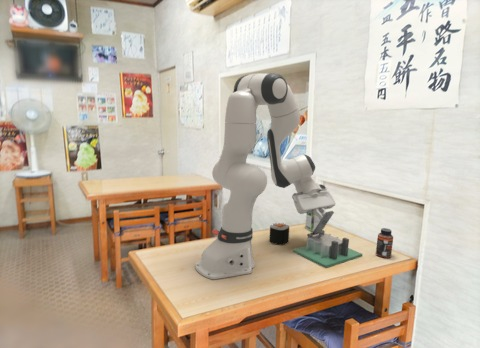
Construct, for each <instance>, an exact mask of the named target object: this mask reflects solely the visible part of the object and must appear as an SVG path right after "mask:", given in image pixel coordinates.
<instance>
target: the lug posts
mask: <svg viewBox="0 0 480 348" xmlns="http://www.w3.org/2000/svg"><path fill="white" fill-rule="evenodd" d="M341 240H342V250H341V255H343V256H348V248H349V245H350V244H349V242H350V239H349V238H347V237H343V238H342V239H341ZM337 251H338V242H337V241H332V243H331V255H330V258H332V259H334V260H335V259H337Z"/></svg>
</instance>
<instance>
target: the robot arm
mask: <svg viewBox="0 0 480 348" xmlns="http://www.w3.org/2000/svg"><path fill="white" fill-rule="evenodd" d="M226 104H227V105H226V107H225V118H224V136H223V137H224V139H223V147H222V151H221V154H220V157H219V159H218V161H217V162H216V164H214V166H213V167H212V172H211V174H212V178H213V180H214V182H215V183H216V184H218V185H219V186H220V187H222V188H224V189H226V190H229V191H230V194H229V199H228V201H227V203H225V204H224V205H223V207H222V209H221V210H222V214H221V227H220V229H217V228H213V230H212V235H215V236H217V238H215V240H213V241H212V242H211V243H210V244H209V245H208V246H206V247H205V248H204V249H203V250H202V253H201V259H200V260H199V261H196V262H195V263H194V267H195V268H194V269H195V270H196V271H197V272H198V273H199V274H200V275H201V276H203V277H205V278H207V279H210V280H218V279H224V278H231V277H236V276H242V275H243V276H244V275H248V274H252V272H253V270H252V269H253V268H254V267H255V261H254V257H253V249H252V240H253V232H254V231H253V227H252V224H253V210H254V206H255V203H256V200H257V198H258V197H259V196H260V195H261V194H263V193H264V191H265V190H266V187H267V185H268V176H267V174H266V172H265V171H264V170H263V169H261V168H259V167H258V166H256V165H254V164H250V163H247V158H248V156H249V154H250V151H252V150H253V149H254V148H255V146H256V136H257V110H258V108H259V106H267V109H268V112H269V116H270V127H269V129H268V130H267V135H266V137H267V147H268V154H269V162H270V174H271V175H270V176H271V180H272V182H273V184H274V185H275V186H276V187H278V188H282V189H285V188H287V187H288V186H290V185H291V184H293V185H294V187H295V190H296V192H294V193H292V195H291V199H292V200H293V203H294V206H295V208H296V211H297V213H298V214H300V215H303V214H307V213H310V212H313V213H314V214H315V215H316V216H317V217H318V218H319V219H320V220H321V219H322V217H323V216H324V214H325V213H326V210H329V209H333V208H334V206H336V200H335V199H334V197H333V195H332V194H331V193H330V191H329V190H328V187H327V186H326V185H325V184H322V183H321V184H320V183H318V182H316V181H315V180H314V179H313V177H312V175H313V174H314V172H315V170H316V165H315V162H314V160H313V159H312V158H311V157H310V156H309V155H307V154H304V153H303V154H300V155H298V156H295V157H292V158H290V159H288V160H286V161H283V162H282V157H281V147H282V146H281V145H282V144H283V142H284V141H285V140H286V139H287V138H288V137H290V135H291V134H293V132H295V130H296V129H297V128H298V126H299V125H300V122H301V121H300V120H301V115H300V111H299V107H298V103H297V99H296V98H295V95H294V93H293V91H292V88H291V86H290V85H289V84H288V83H287V81H286V79H285V77H283V76H282V75H281V74H279V73H275V72H274V73H273V72H270V73H265V72H264V73H263V72H262V73H261V72H258V73H256V72H255V73H251V74H245V75H243V76H240V77H239V78H237V80H236V81H235V84H234V87H233V91H232V93H230V95H229V97H228V99H227V103H226ZM319 211H320V212H319Z"/></svg>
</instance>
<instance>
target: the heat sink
mask: <svg viewBox="0 0 480 348" xmlns="http://www.w3.org/2000/svg"><path fill="white" fill-rule="evenodd" d="M332 241H337V242H338V251H337V256H338V255H341V250H342V239H340V238H339V236H336V237H335V236H333V235H332V234H330V233H329V234H328V233H326V232H325V230H324V229H323V230H322V231H321V233H320V234H317V235H313V232H310V233H307V239H306V245H305V246H306V250H312V251H313V253H314V254H315V253H318V254H320V255H321V257H327V258H330V255H331V243H332Z"/></svg>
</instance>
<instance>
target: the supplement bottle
mask: <svg viewBox="0 0 480 348" xmlns="http://www.w3.org/2000/svg"><path fill="white" fill-rule="evenodd" d="M393 241H394V235H392V230H391V229H390V228H386V227H385V228H384V227H383V228H381V229H380V233H378V234H377V240H376V248H375V255H377V256H378V257H380V258H384V259H390V258H391V256H392V251H393V243H394V242H393Z"/></svg>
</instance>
